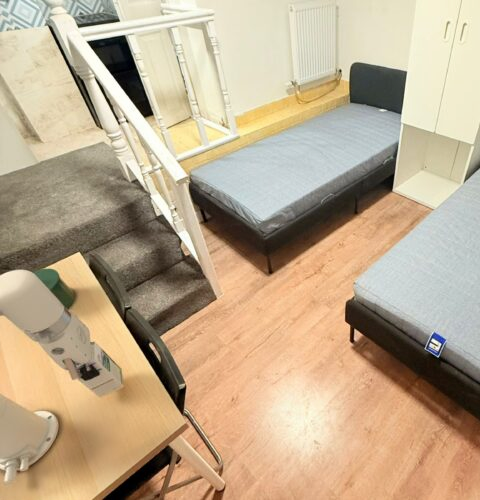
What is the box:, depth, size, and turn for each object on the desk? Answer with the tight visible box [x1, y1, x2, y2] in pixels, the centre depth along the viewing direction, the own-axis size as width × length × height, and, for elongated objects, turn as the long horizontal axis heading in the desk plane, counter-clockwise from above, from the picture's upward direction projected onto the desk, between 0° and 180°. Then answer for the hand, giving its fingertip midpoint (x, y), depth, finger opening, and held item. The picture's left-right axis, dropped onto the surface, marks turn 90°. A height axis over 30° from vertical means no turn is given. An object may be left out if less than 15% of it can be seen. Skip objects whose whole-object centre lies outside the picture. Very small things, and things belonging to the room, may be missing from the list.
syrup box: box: [76, 341, 125, 399], centre depth 81 cm, size 6×6×14 cm
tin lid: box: [31, 268, 61, 291], centre depth 100 cm, size 13×13×5 cm
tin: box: [51, 277, 76, 310], centre depth 104 cm, size 12×12×10 cm
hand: (91, 364), depth 79 cm, fingers closed on syrup box, 5 cm apart
